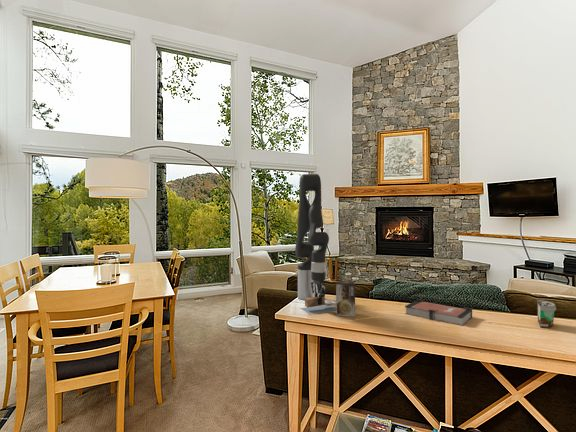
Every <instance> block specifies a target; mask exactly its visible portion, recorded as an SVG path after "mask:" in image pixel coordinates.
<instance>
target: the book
mask: <svg viewBox="0 0 576 432" xmlns="http://www.w3.org/2000/svg"><path fill="white" fill-rule="evenodd" d="M404 308H405V313H404V315H407V316H413V317H417V318H422V319H427V320H431V321H436V322H442V323H446V324H451V325H456V326H460V327H462V326H464V325H465V324H467V322H469V321H470V320H471V319H472V318H473V308H472V307H469V306H464V307H457V306H452V305H451V306H450V305H447V304H446V305H445V304H440V303H434V302H430V301H429V302H428V301H425V299H420V298H417V299H415V301H412V302H411V303H408V304H406V305H405V306H404Z"/></svg>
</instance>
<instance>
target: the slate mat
mask: <svg viewBox="0 0 576 432" xmlns="http://www.w3.org/2000/svg"><path fill="white" fill-rule="evenodd" d="M300 310H302V311H304V312H305V313H306V314H308V315H311V316H312V315H317V314H318V315H319V314H326V313H327V314H328V313H333V312H334V313H336V306H335V305H331V306H326V305H321V306H315V307H308V308H307V307H306V306H305V307H300Z"/></svg>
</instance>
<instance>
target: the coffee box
mask: <svg viewBox="0 0 576 432" xmlns="http://www.w3.org/2000/svg"><path fill="white" fill-rule="evenodd" d="M335 299H336V300H335V302H336V305H335V307H336V311H335V313H336V316H337V317H356V284H355V282H354V281H336V282H335Z"/></svg>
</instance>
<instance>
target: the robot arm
mask: <svg viewBox="0 0 576 432" xmlns="http://www.w3.org/2000/svg"><path fill="white" fill-rule="evenodd" d="M298 192H299V193H298V194H299V202H298V203H299V204H298V212H297V213H298V214H297V229H296V230H297V231H296V232H297V233H296V240H295V247H294V248H295V249H294V253H295V256H296V257H297V258H298V259H303V258H304V259H306V260H304V261H303V262H301V263H298V264H297V299H299V300H304V301H305V298H310V297H318V305H321V306H323V305H322V297H326V293H327V289H328V288H327V286H324V284H325V283H324V281H326V279H327V278H326V277H327V269H326V268H327V266H326V253H327V249H328V246H329V241H330V237H329V234H328V233H327V232H326V231H317V229H321V228H322V227H324V218H323V211H322V181H321V177H320V175H319V174H318V173H303V174H301V175H300V177H299V191H298ZM307 192H314V198H313V201H312V202H311V204H310V202H309V200H308V196H307ZM307 234H308V238H307V239H308V241H304V239H305V237H306V235H307ZM316 246H317V247H318V248H317V249H315V247H316Z"/></svg>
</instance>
